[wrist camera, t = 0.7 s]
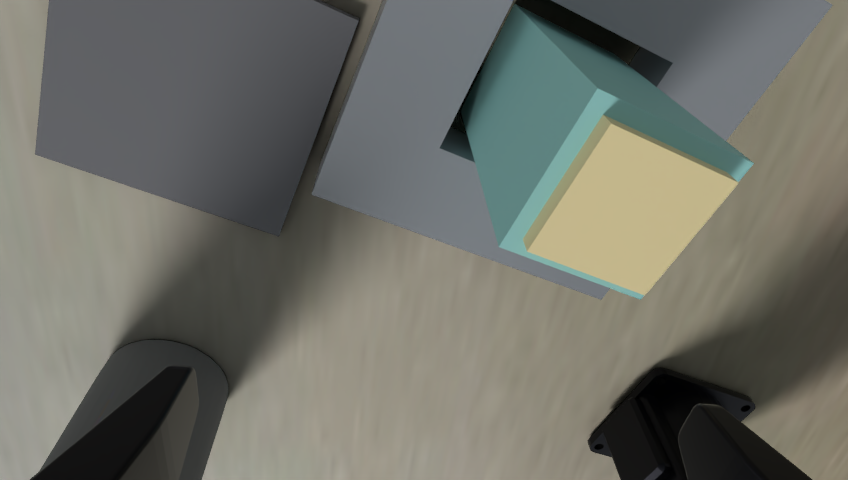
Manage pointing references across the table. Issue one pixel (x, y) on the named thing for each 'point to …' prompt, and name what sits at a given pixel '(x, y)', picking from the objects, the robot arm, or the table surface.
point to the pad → (192, 97)
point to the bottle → (133, 372)
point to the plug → (590, 158)
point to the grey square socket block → (457, 67)
